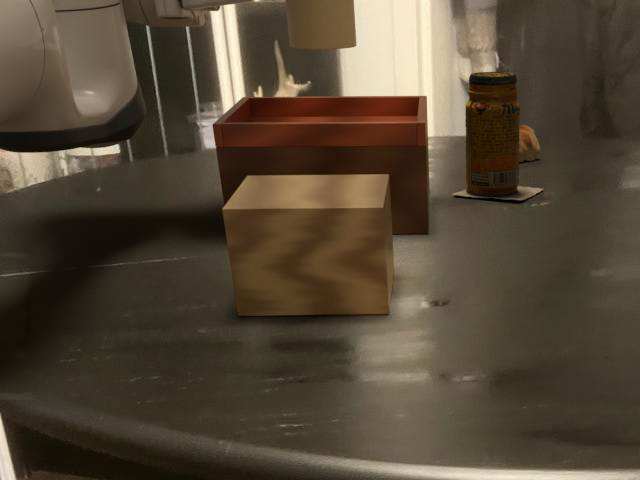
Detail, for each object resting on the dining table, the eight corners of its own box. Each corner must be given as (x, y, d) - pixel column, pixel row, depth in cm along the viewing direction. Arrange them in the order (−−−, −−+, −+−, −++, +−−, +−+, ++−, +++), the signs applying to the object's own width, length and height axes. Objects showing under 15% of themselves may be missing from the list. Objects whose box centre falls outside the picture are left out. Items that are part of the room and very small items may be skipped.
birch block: (237, 316, 77) (221, 208, 73) (259, 272, 87) (247, 175, 82) (389, 314, 78) (383, 207, 73) (394, 271, 87) (389, 174, 83)
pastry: (491, 168, 124) (491, 135, 122) (457, 161, 128) (456, 129, 126) (544, 159, 129) (545, 126, 127) (509, 152, 133) (510, 121, 131)
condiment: (478, 184, 117) (477, 68, 110) (544, 190, 114) (548, 72, 107) (452, 196, 111) (449, 76, 104) (520, 203, 109) (523, 80, 101)
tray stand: (228, 236, 97) (212, 124, 91) (255, 195, 112) (242, 96, 106) (428, 233, 98) (425, 122, 92) (429, 194, 112) (426, 95, 107)
